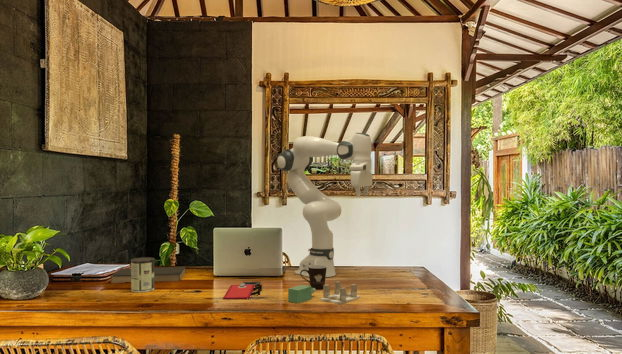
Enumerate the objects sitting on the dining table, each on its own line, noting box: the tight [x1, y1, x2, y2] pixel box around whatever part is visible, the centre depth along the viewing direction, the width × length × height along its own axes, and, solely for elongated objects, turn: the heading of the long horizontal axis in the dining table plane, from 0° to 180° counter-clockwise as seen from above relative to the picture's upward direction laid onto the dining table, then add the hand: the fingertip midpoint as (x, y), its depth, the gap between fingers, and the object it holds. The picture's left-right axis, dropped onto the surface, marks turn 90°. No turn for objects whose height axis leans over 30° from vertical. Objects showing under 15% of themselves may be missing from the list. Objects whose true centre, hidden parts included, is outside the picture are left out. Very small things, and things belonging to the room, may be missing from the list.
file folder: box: [109, 266, 187, 284], centre depth 246 cm, size 33×4×24 cm
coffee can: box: [130, 256, 155, 293], centre depth 218 cm, size 10×10×14 cm
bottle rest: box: [320, 280, 360, 305], centre depth 202 cm, size 10×14×6 cm
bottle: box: [287, 284, 317, 304], centre depth 202 cm, size 5×14×6 cm, turn 142°
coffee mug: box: [299, 265, 327, 291], centre depth 222 cm, size 12×9×10 cm
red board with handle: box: [222, 281, 263, 300], centre depth 216 cm, size 30×3×15 cm
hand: (362, 195), depth 227 cm, fingers open, 8 cm apart
